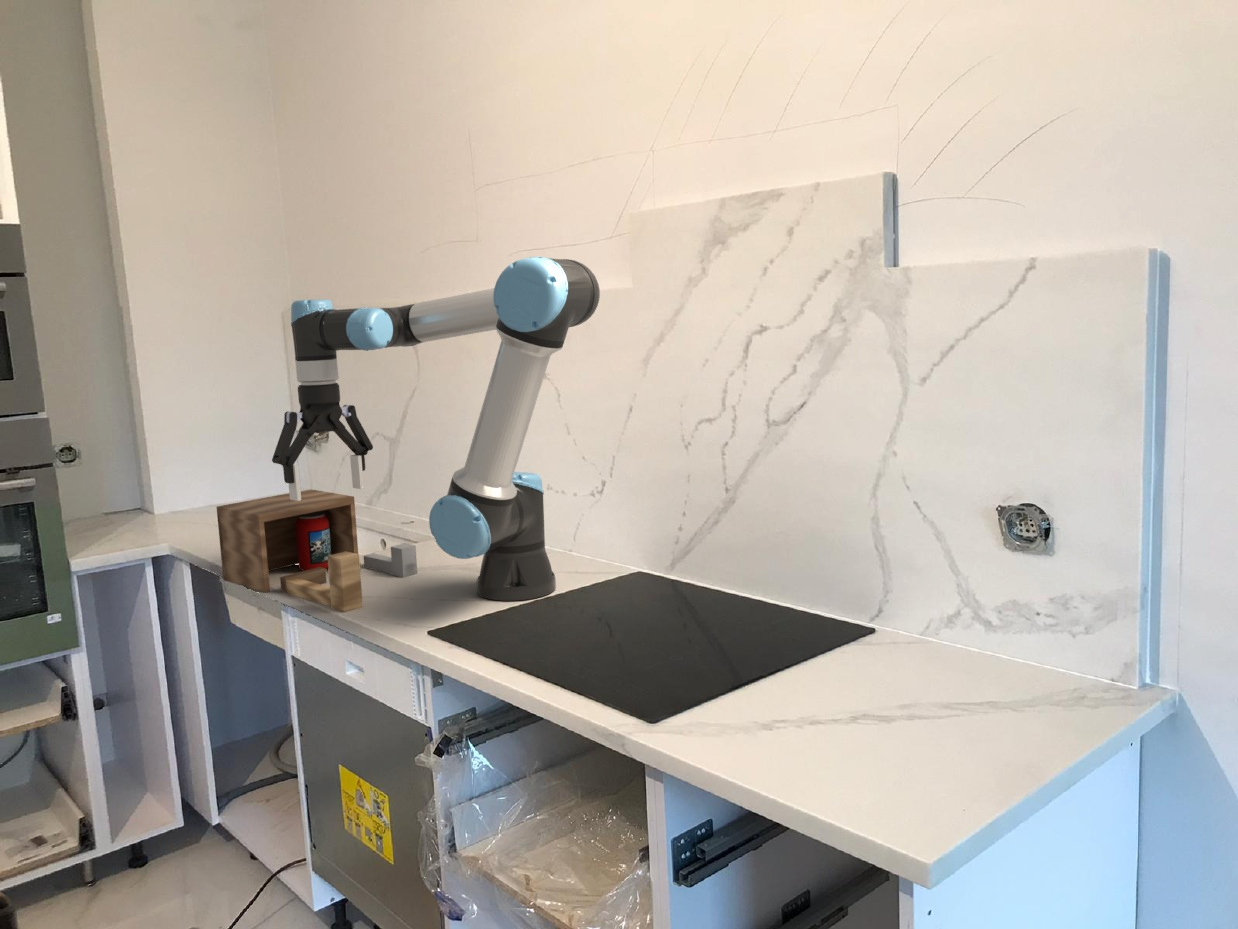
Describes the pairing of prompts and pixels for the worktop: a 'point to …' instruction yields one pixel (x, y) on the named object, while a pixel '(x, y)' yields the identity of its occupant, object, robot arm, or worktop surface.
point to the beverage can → (313, 540)
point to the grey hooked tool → (395, 561)
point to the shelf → (277, 533)
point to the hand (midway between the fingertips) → (327, 494)
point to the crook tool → (342, 583)
